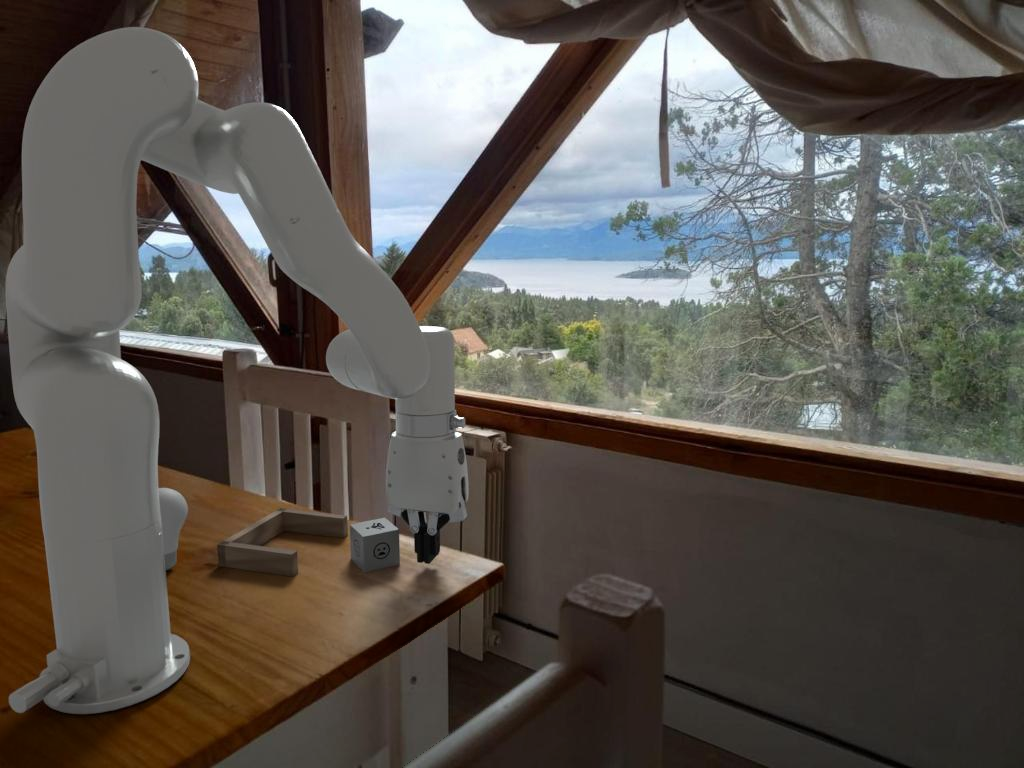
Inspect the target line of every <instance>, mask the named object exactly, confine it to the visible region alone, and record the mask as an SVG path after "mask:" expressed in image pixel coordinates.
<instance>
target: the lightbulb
mask: <svg viewBox="0 0 1024 768" xmlns="http://www.w3.org/2000/svg"><path fill="white" fill-rule="evenodd" d="M158 488H159V502H160V514H161V523H162V535H163V547H164V559H165V571H169V570H170V569H171V568H173V567H174V566H175V565H176V564H177V563H178V561H177V559H178V557H177V556H178V554H177V550H178V548H179V536H180V533H181V530H182V529H183V527H184V524H185V521H186V519H187V517H188V512H189V508H188V503H187V500H186V498H185V497H184V496H183V495H182V494H181V493H180V492H178V491H177V490H174V489H172V488H169V487H158Z"/></svg>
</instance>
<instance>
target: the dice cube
mask: <svg viewBox="0 0 1024 768" xmlns="http://www.w3.org/2000/svg"><path fill="white" fill-rule="evenodd" d="M349 537H350V538H349V539H350V540H349V541H350V544H349V545H350V559H351V560H352V562H353V563H354V564H355V565H356V566H357V567H358V568H359V569H360V570H361V571H362V572H363V573H369V572H372V571H377V570H381V569H385V568H389V567H392V566H393V567H394V566H397V565H400V564H401V562H400V561H401V557H400V556H401V555H400V554H401V553H400V552H401V551H400V528H398V527H397V526H395V524H393V523H392V522H391V521H389V520H388V519H387V518H386V517H382V518H376V519H371V520H370V519H369V520H365V521H362V522H361V521H360V522H356V523H350V524H349Z"/></svg>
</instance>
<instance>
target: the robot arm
mask: <svg viewBox="0 0 1024 768" xmlns="http://www.w3.org/2000/svg"><path fill="white" fill-rule="evenodd" d="M199 85H200V84H199V77H198V72H197V70H196V67H195V63H194V61H193V59H192V57H191V56H190V54H189V52H188V51H187V50H186V48H185V47H184V46H183V45H182V44H181V43H180V42H178V41H177V40H176V39H175V38H173V37H172V36H170V35H169V34H167V33H164V32H162V31H160V30H157V29H153V28H148V27H141V26H140V27H139V26H128V27H121V28H117V29H113V30H109V31H106V32H103V33H100V34H97V35H96V36H93V37H90V38H88V39H86V40H85V41H83V42H81V43H79V44H77V45H76V46H74V48H72V49H70V50H69V51H68V52H67V53H66V54H64V55H63V56H62V57H61V58H60V59H59V60H58V61H57V62H56V63H55V64H54V66H53V67H52V68H51V69H50V71H49V72H48V73H47V74H46V76H45V77H44V79H43V80H42V82H41V83H40V85H39V87H38V88H37V90H36V92H35V94H34V96H33V98H32V100H31V103H30V105H29V107H28V112H27V115H26V118H25V122H24V127H23V133H22V142H21V184H22V189H21V190H22V191H21V192H22V193H21V194H22V195H21V196H22V197H21V198H22V199H21V201H22V222H23V244H22V245H21V246H20V248H18V249H17V251H16V252H15V253H14V255H13V256H12V258H11V259H10V261H9V264H8V267H7V271H6V275H5V276H6V277H5V290H4V291H5V293H4V294H5V308H6V323H7V335H8V347H9V348H8V349H9V359H10V370H11V371H10V372H11V374H10V375H11V382H12V390H13V396H14V401H15V403H16V407H17V410H18V411H19V413H20V414H21V416H22V417H23V419H24V421H25V422H26V423H27V424H28V425H29V426H30V427H31V429H32V430H33V434H34V440H35V446H36V458H37V480H38V482H37V483H38V494H39V495H38V497H39V498H38V499H39V506H40V517H41V527H42V534H43V535H42V536H43V538H44V539H43V541H44V548H45V549H44V550H45V556H46V557H45V558H46V565H47V574H48V582H49V583H48V584H49V591H50V601H51V609H52V619H53V625H54V627H53V628H54V634H55V644H56V649H54V650H51V652H49V653H47V654H46V656H45V657H46V664H47V667H46V668H44V669H42V670H41V671H40V673H39V677H38V678H36V679H34V680H31V681H30V682H28V683H26V684H24V685H22V686H21V687H20V688H17V689H16V690H15V691H13V692H12V693H10V694H9V696H8V704H9V705H10V707H11V709H12V710H13V711H14V712H16V713H18V714H23V713H25V712H26V711H28V710H30V709H31V708H32V707H34V706H35V705H37V704H38V703H40V702H41V701H43V702H44V704H45V705H46V706H48V707H49V708H50V709H52V710H55V711H58V712H62V713H66V714H72V715H89V714H90V715H91V714H102V713H106V712H112V711H116V710H119V709H123V708H127V707H130V706H133V705H135V704H139V703H141V702H144V701H145V700H148V699H150V698H153V697H154V696H157V695H158V694H161V692H163V691H164V690H167V689H168V688H169V687H171V686H172V685H173V684H174V683H175V682H177V681H178V680H179V679H180V678H181V677H182V675H184V673H185V672H186V671H187V668H188V667H189V665H190V661H191V653H190V646H189V644H188V642H187V641H186V640H185V639H184V638H182V637H180V636H178V635H177V634H173V633H172V632H171V621H170V610H169V608H170V607H169V598H168V596H169V595H168V585H167V572H166V571H167V570H165V559H164V547H163V535H162V523H161V514H160V502H159V488H160V487H159V469H158V468H159V466H158V465H159V464H158V463H159V462H158V461H159V459H158V458H159V441H160V440H159V439H160V411H159V405H158V401H157V398H156V395H155V392H154V390H153V387H152V386H151V385H150V383H149V382H148V380H147V379H146V377H145V375H143V374H142V373H141V372H140V370H138V369H137V368H136V367H134V366H133V365H132V364H130V363H129V362H127V361H125V360H123V359H122V353H121V339H120V338H121V335H120V331H121V330H122V329H124V328H125V327H126V326H128V325H129V324H130V323H131V322H132V320H133V319H135V317H136V314H137V313H138V311H139V308H140V304H141V301H142V294H143V292H142V277H141V276H142V275H141V266H140V254H139V251H140V250H139V236H138V235H139V234H138V218H137V215H138V214H137V197H138V195H137V192H138V177H139V176H138V175H139V169H140V166H141V165H140V164H141V161H143V162H146V163H148V164H151V165H153V166H154V167H158V168H160V169H162V170H164V171H167V172H169V173H172V174H174V175H176V176H179V177H181V178H184V179H186V180H188V181H191V182H194V183H197V184H198V185H201V186H204V187H206V188H210V189H212V190H215V191H219V192H222V193H228V194H232V195H235V194H236V195H237V194H238V195H239V197H240V198H241V200H242V202H243V204H244V206H245V207H246V209H247V211H248V213H249V215H250V216H251V219H252V220H253V222H254V223H255V225H256V227H257V229H258V231H259V233H260V235H261V237H262V238H263V240H264V243H265V244H266V246H267V248H268V250H269V251H270V253H271V255H272V257H273V259H274V261H275V263H276V264H277V266H278V267H279V269H280V270H281V271H282V272H283V273H284V274H285V275H286V276H287V277H288V278H289V279H291V280H292V281H293V282H295V284H297V285H299V286H300V287H301V288H303V289H304V290H305V291H308V292H309V293H311V294H312V295H313V296H314V297H316V298H318V299H319V300H320V301H322V302H323V303H324V304H325V305H327V306H328V307H329V309H331V310H332V311H333V313H334V314H336V316H338V318H339V319H340V320H341V321H342V322H343V324H344V325H345V326H346V327H347V330H344V331H342V332H341V333H339V334H337V335H336V336H335V337H334V338H333V339H332V340H331V342H330V343H329V344H328V347H327V349H326V354H325V364H326V367H327V370H328V372H329V374H330V375H331V376H332V377H333V378H334V379H335V380H336V381H337V382H338V383H340V384H341V385H342V386H345V387H348V388H350V389H353V390H356V391H360V392H364V393H369V394H372V395H376V396H380V397H383V398H387V399H392V400H394V401H395V403H394V406H395V407H394V408H395V431H394V432H392V433H391V437H390V441H389V447H388V452H387V459H386V460H387V461H386V470H385V471H386V472H385V497H386V502H387V512H388V513H389V514H391V515H394V516H396V517H399V518H402V520H404V522H406V524H407V525H408V526H409V528H410V531H411V533H412V534H413V537H414V538H413V540H414V543H413V544H414V553H415V554H416V561H417V563H419V564H422V563H424V564H427V565H429V564H431V563H432V562H433V561H434V559H436V558H437V557H438V555H440V552H441V529H442V528H443V527H444V526H446V525H447V524H448V523H458V522H463V521H464V520H465V519H466V518H467V516H468V513H467V509H466V505H465V503H467V502H468V500H469V495H470V492H469V489H470V488H469V487H470V486H469V474H468V472H469V471H468V464H467V457H466V450H465V445H464V439H463V435H462V433H461V432H458V431H457V429H458V430H459V429H464V428H465V427H466V418H465V417H464V416H463V417H460V416H459V415H458V414H457V409H456V408H455V406H456V401H455V400H456V396H455V395H456V394H455V392H456V390H455V389H456V388H455V387H456V385H455V384H456V383H455V382H456V381H455V379H456V378H455V375H456V374H455V373H456V371H455V368H456V367H455V363H456V362H455V357H456V355H455V338H454V334H453V332H452V331H451V329H448V328H445V327H444V326H443V327H442V326H434V325H433V326H432V325H419V323H418V320H417V319H416V316H415V313H414V311H413V310H412V308H411V306H410V303H409V302H408V300H407V299H406V298H405V296H404V294H403V292H402V291H401V290H400V288H399V287H398V285H396V283H395V282H394V281H393V280H392V278H391V277H389V276H388V274H387V273H386V272H385V270H383V268H381V266H380V265H379V264H378V262H376V260H375V259H374V258H373V257H372V255H370V254H369V253H368V252H367V250H366V249H364V247H362V246H361V245H360V243H358V241H356V239H355V238H354V236H353V235H352V232H351V231H350V229H349V228H348V225H347V224H346V222H345V219H344V218H343V216H342V213H341V211H340V209H339V208H338V205H337V203H336V201H335V199H334V197H333V195H332V193H331V190H330V188H329V186H328V185H327V182H326V180H325V178H324V176H323V174H322V171H321V169H320V167H319V166H318V163H317V161H316V159H315V157H314V155H313V153H312V151H311V149H310V147H309V145H308V142H307V141H306V138H305V136H304V134H303V133H302V131H301V129H300V127H299V125H298V123H297V122H296V121H295V119H294V118H293V117H292V116H291V115H290V114H289V113H288V112H287V111H286V109H283V108H282V107H280V106H278V105H275V104H273V103H269V102H262V101H258V102H257V101H255V102H248V103H247V102H246V103H242V104H239V105H236V106H233V107H230V108H228V109H226V110H225V109H222V108H219V107H215V106H213V105H211V104H209V103H206V102H204V101H202V100H200V99H199V87H200V86H199ZM426 513H428V514H429V515H428V521H427V516H426V515H427V514H426Z"/></svg>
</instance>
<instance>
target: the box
mask: <svg viewBox="0 0 1024 768" xmlns="http://www.w3.org/2000/svg"><path fill="white" fill-rule="evenodd" d="M282 532H291V533H292V532H293V533H300V534H309V535H316V536H324V537H325V536H326V537H334V538H341V539H345V538H346V537H347V536H348V535H349V529H348V515H346V514H345V515H344V514H337V513H336V514H335V513H327V512H317V511H308V510H299V509H292V508H283V507H282V508H281V507H279V508H278V509H277V510H275V511H273V512H271V513H270V514H268V515H266V516H264V517H263V518H261V519H259V520H258V521H255V522H254V523H252V524H250V525H248V526H247V527H245V528H243V529H242V530H239V532H236V533H234V534H233V535H231V536H229V537H228V538H226V539H225V540H223V541H221V542H219V543H217V544H216V550H217V562H218V567H223V568H231V569H238V570H245V571H250V572H251V571H252V572H259V573H266V574H274V575H280V576H287V577H294V576H296V575H297V574H298V573H299V561H298V559H299V558H298V550H294V549H286V548H279V547H270V546H264V544H265V543H267V542H268V541H270V540H271V539H274V538H275V537H276V536H278V535H279V534H281V533H282Z"/></svg>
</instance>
